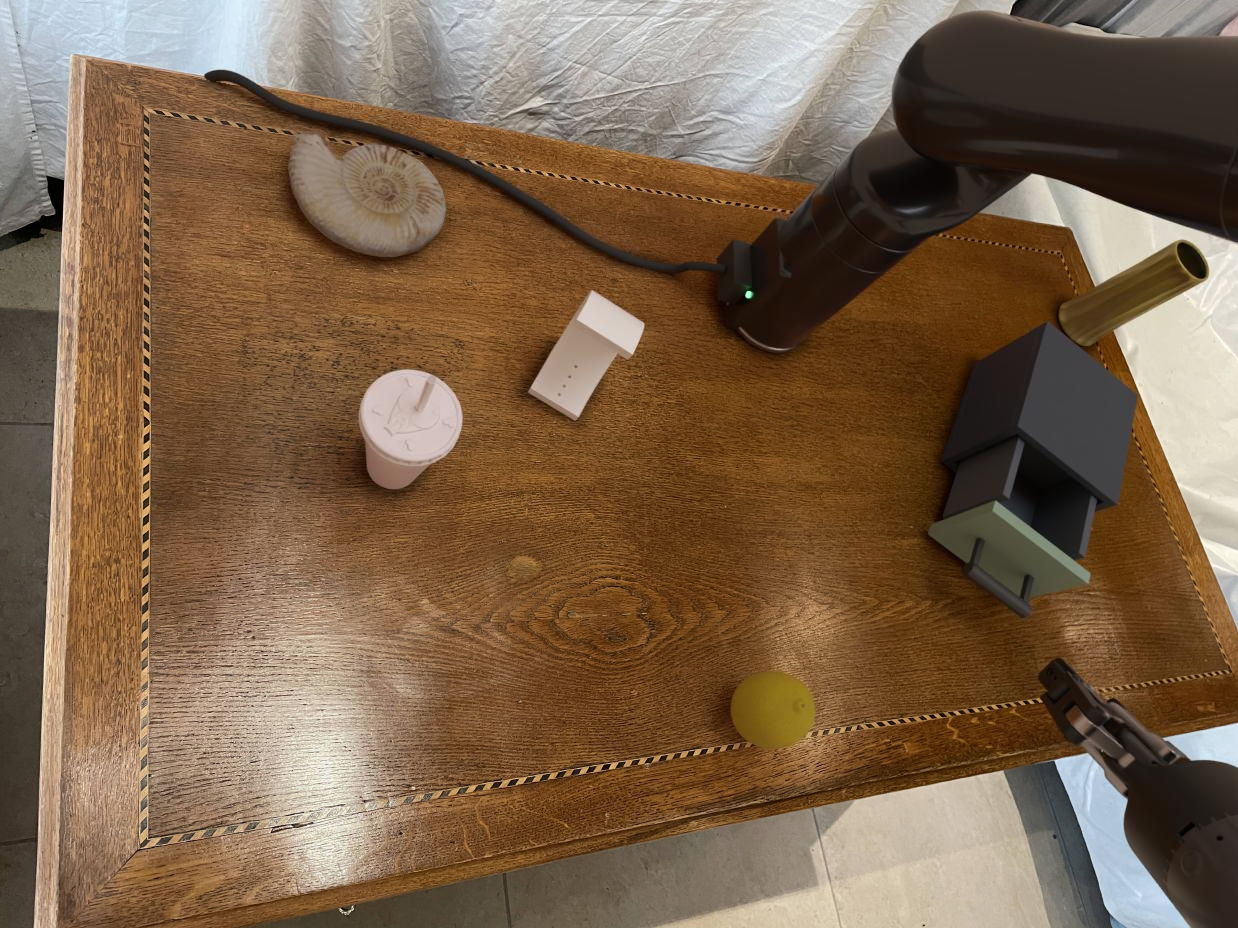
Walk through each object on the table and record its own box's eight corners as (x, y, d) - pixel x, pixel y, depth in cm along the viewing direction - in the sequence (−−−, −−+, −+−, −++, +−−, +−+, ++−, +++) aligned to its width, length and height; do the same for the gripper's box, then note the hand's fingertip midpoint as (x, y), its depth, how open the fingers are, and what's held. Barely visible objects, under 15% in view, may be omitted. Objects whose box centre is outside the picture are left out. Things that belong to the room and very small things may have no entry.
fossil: (287, 241, 58) (288, 108, 58) (287, 260, 63) (287, 136, 63) (452, 258, 63) (452, 135, 63) (440, 275, 67) (440, 160, 68)
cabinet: (1032, 531, 81) (1118, 504, 73) (940, 461, 80) (1017, 425, 71) (1057, 430, 89) (1138, 394, 80) (973, 363, 87) (1047, 320, 79)
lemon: (733, 763, 60) (793, 762, 53) (701, 695, 61) (755, 686, 54) (785, 729, 63) (848, 724, 56) (753, 664, 64) (812, 651, 57)
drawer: (1007, 637, 74) (1081, 624, 67) (915, 570, 72) (981, 549, 66) (1043, 494, 83) (1111, 469, 76) (961, 431, 81) (1023, 400, 74)
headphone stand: (527, 392, 64) (576, 319, 54) (557, 339, 67) (610, 260, 57) (575, 421, 65) (632, 354, 55) (603, 368, 68) (663, 295, 58)
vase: (1090, 311, 99) (1206, 245, 87) (1097, 353, 96) (1218, 291, 84) (1054, 297, 97) (1167, 228, 85) (1060, 339, 95) (1178, 274, 82)
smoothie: (454, 471, 60) (500, 395, 47) (388, 524, 56) (420, 457, 44) (396, 409, 59) (428, 317, 47) (327, 458, 56) (342, 373, 44)
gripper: (1408, 903, 40) (1190, 706, 56) (1206, 753, 38) (1041, 594, 54) (1287, 991, 42) (1110, 775, 58) (1089, 852, 40) (964, 670, 56)
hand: (1078, 689), depth 56 cm, fingers open, 4 cm apart
